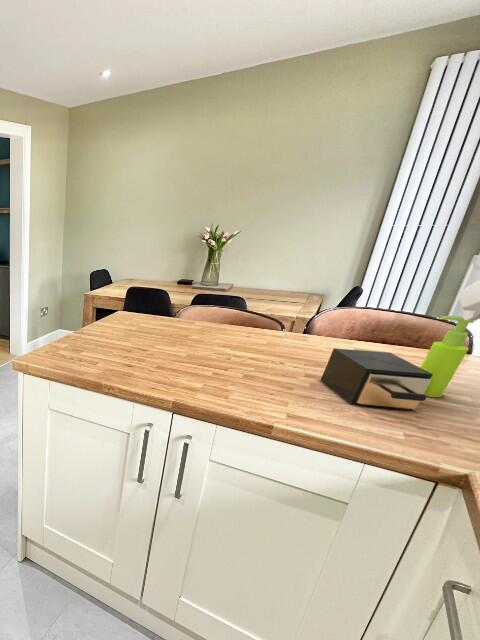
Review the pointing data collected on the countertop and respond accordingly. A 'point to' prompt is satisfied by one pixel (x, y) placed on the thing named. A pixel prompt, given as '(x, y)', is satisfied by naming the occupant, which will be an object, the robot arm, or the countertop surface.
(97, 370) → the countertop surface
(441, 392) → the soap dispenser
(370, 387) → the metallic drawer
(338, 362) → the black drawer box
